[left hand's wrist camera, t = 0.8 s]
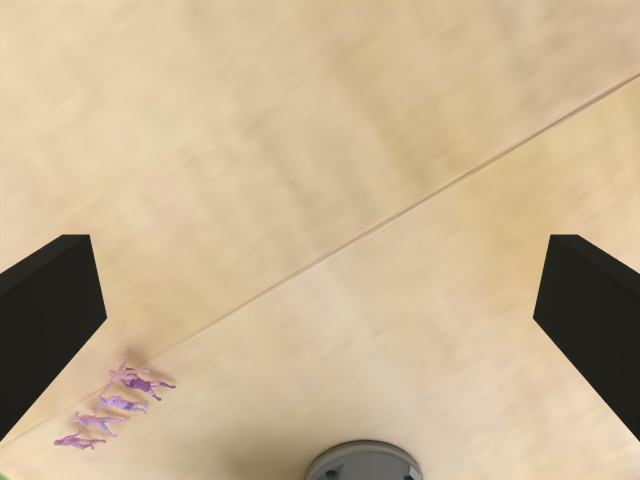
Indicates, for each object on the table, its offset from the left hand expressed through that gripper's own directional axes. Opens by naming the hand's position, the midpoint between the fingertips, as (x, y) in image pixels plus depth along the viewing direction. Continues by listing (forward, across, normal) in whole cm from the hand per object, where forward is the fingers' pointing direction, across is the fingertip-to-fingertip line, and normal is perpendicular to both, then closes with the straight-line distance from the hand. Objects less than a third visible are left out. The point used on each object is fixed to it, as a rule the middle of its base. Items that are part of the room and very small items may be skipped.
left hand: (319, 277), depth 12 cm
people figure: (+28, +23, +29) cm, 47 cm away
